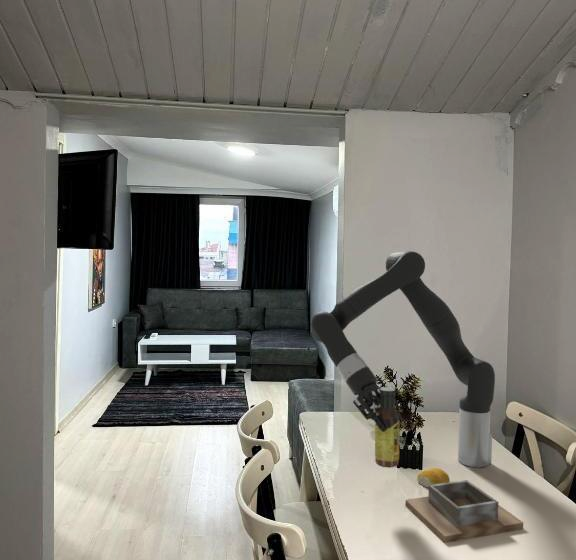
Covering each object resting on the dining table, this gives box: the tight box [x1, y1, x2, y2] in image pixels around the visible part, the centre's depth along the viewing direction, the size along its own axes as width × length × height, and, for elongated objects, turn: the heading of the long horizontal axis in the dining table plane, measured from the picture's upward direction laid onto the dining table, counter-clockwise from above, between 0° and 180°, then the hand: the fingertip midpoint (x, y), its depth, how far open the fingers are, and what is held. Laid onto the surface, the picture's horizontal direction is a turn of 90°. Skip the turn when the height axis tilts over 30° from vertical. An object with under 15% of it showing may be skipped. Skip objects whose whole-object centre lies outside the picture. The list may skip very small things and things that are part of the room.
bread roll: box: [416, 467, 451, 489], centre depth 149 cm, size 8×9×4 cm
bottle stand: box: [405, 479, 524, 543], centre depth 130 cm, size 22×18×6 cm
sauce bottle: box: [374, 386, 400, 469], centre depth 134 cm, size 6×6×20 cm
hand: (393, 426), depth 133 cm, fingers closed on sauce bottle, 6 cm apart
